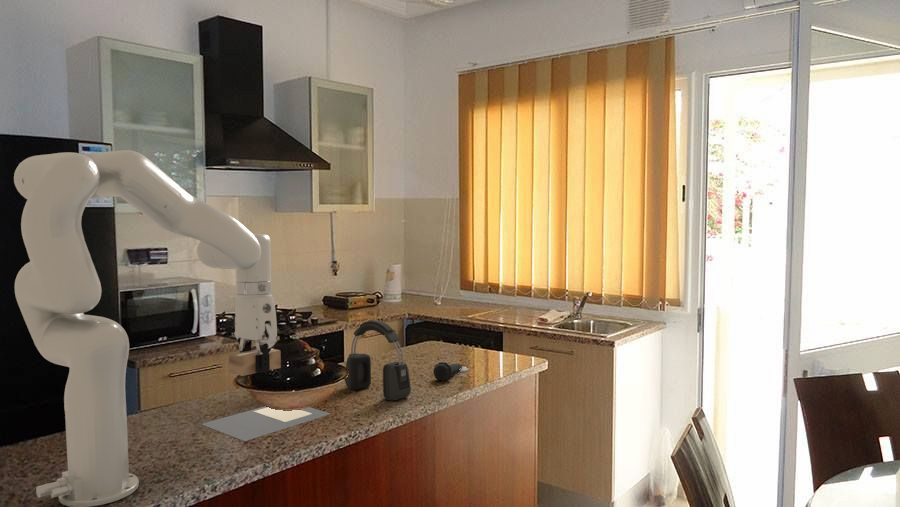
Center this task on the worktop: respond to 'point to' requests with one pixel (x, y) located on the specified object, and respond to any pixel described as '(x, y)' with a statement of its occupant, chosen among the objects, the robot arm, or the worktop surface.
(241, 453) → the worktop surface
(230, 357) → the block
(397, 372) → the headphones
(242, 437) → the mat
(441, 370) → the microphone
